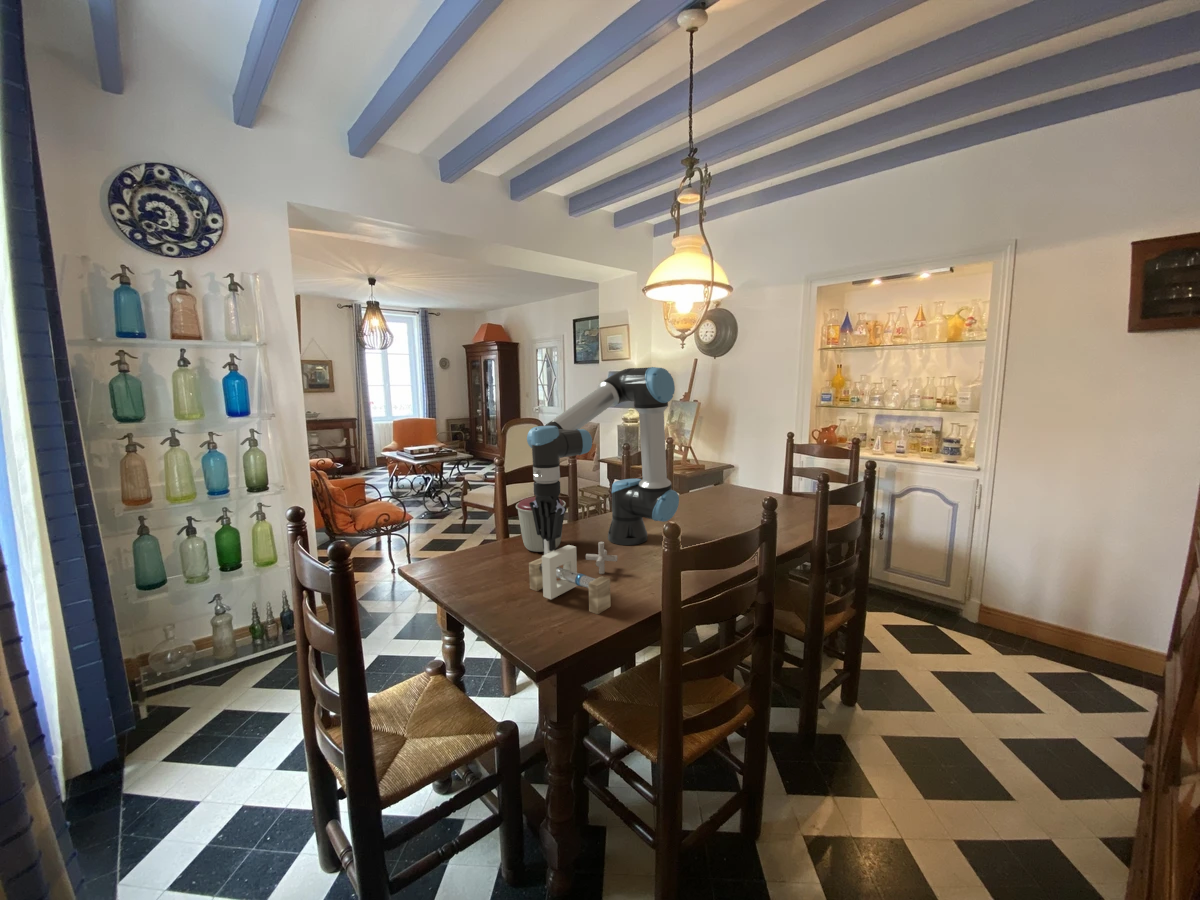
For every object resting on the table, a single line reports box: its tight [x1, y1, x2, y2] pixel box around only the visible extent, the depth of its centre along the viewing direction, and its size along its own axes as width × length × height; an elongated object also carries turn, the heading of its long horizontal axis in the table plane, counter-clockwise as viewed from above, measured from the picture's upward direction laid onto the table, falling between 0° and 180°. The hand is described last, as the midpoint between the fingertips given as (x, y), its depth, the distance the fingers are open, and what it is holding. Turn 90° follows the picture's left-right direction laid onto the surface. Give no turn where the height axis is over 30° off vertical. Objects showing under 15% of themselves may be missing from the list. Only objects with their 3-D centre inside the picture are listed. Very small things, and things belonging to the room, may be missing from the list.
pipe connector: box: [585, 541, 618, 575], centre depth 151 cm, size 10×10×10 cm
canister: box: [515, 496, 567, 553], centre depth 174 cm, size 18×18×21 cm
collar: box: [541, 544, 578, 600], centre depth 136 cm, size 3×11×12 cm, turn 141°
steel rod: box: [539, 563, 596, 590], centre depth 134 cm, size 25×3×3 cm, turn 51°
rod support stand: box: [528, 557, 612, 615], centre depth 135 cm, size 26×6×8 cm, turn 51°
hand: (549, 560), depth 138 cm, fingers closed
